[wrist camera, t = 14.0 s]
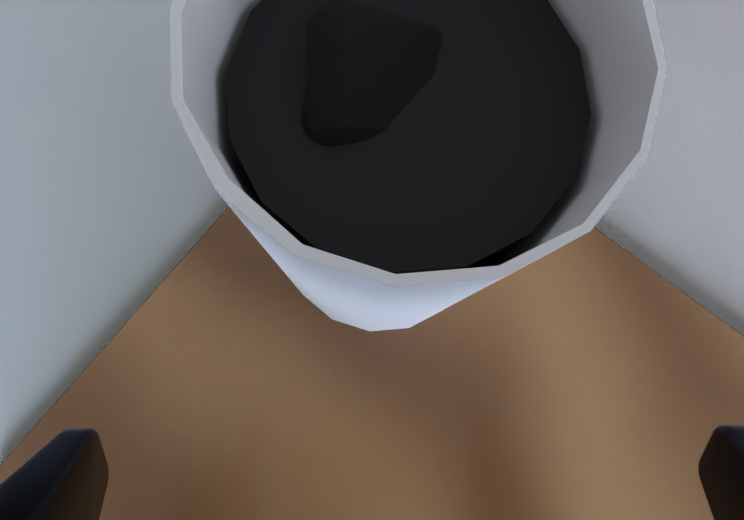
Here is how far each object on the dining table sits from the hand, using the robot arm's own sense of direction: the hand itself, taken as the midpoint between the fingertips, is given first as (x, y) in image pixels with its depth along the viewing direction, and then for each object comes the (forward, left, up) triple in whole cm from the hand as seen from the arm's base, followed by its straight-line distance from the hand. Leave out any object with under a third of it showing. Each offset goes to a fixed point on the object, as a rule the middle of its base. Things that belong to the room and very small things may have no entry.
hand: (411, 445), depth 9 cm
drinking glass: (+4, +3, -8) cm, 10 cm away
